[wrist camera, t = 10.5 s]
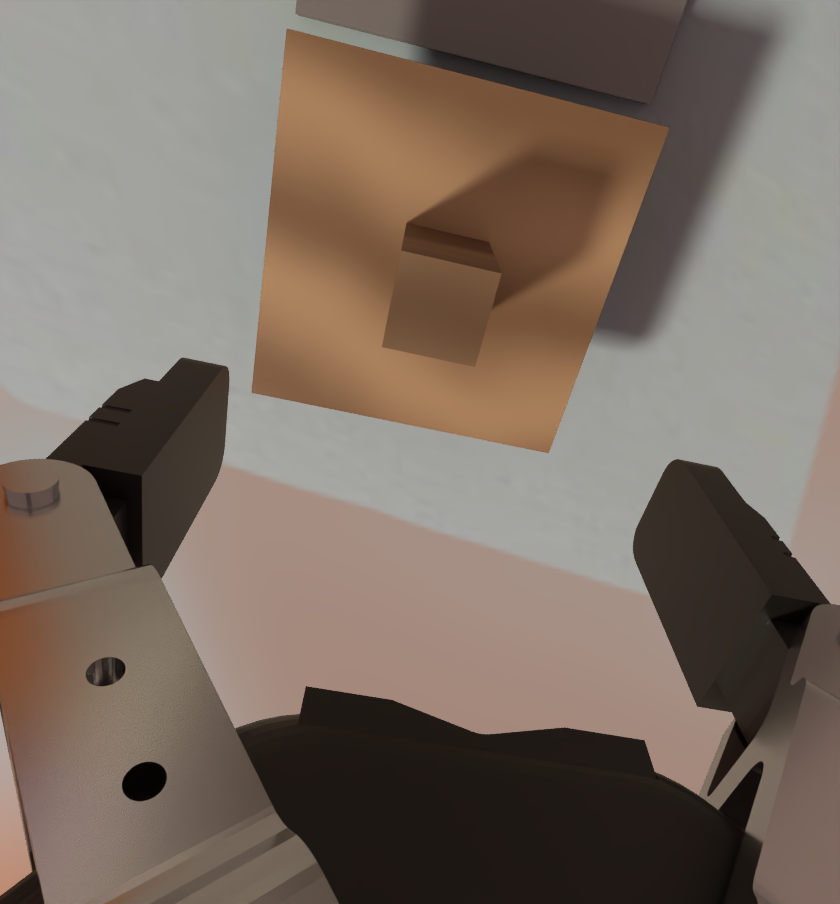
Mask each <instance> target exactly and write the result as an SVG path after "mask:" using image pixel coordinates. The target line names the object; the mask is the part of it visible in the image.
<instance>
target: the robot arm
mask: <svg viewBox="0 0 840 904" xmlns="http://www.w3.org/2000/svg"><path fill="white" fill-rule="evenodd" d="M228 392H229V371H228V368H227V367H226V366H222V365H217V364H212V363H207V362H202V361H197V360H192V359H187V358H181V359H180V360H178V362H177V363H176V364H175V365H174V366H173V367H172V368H171V369H170V370H169V371H168V372H167V373H166V374H165V376H164V377H163V378H162V379H161V380H160V381H154V380H149V379H143V380H140V381H138V382H135V383H133V384H130V385H128V386H125V387H123V388H120V389H118V390H117V391H116V392H115V393H114V394H113V395H112V396H111V397H110V398H109V399H108V400H107V401H105V402H104V403H103V404H102V408H100V407H99V408H98V409H97V410H96V411H95V412H94V413H93V414H92V415H91V416H90V417H89V421H85V422H84V423H83V424H82V425H80V426H79V427H78V428H77V429H76V430H75V431H74V432H73V433H72V434H71V435H70V436H69V437H68V438H67V439H66V440H65V441H64V442H63V443H62V444H61V445H60V446H59V447H58V448H57V449H56V450H54V451H53V452H52V453H51V455H49V456H48V457H47V458H46V459H30V460H21V461H15V462H10V463H6V464H2V465H0V712H1V716H2V721H3V726H4V732H5V737H6V742H7V747H8V752H9V757H10V762H11V767H12V772H13V777H14V782H15V787H16V792H17V797H18V802H19V808H20V813H21V818H22V824H23V829H24V834H25V840H26V845H27V850H28V855H29V860H30V865H31V870H32V872H31V873H30V874H29V875H27V876H26V877H25V878H23V879H22V880H21V881H19V882H18V883H17V884H16V885H14V886H13V887H12V888H11V889H9V890H8V891H6V892H5V893H4V894H2V895H1V896H0V904H840V606H839V605H834V604H830V603H829V601H828V600H827V599H826V598H825V596H824V595H823V594H822V592H821V591H820V590H819V588H818V587H817V586H816V584H815V583H814V582H813V580H812V579H811V578H810V576H809V575H808V574H807V573H806V571H805V570H804V569H803V567H802V566H801V565H800V563H799V562H798V561H797V560H796V558H793V557H791V555H792V553H791V552H790V550H789V549H788V548H787V547H786V545H785V544H784V543H783V541H779V538H780V537H779V536H778V535H777V534H776V532H775V531H774V530H773V528H772V527H771V526H770V524H769V523H768V522H767V520H766V519H765V518H764V517H763V516H762V515H760V514H759V513H758V512H757V511H755V510H754V509H753V508H752V507H750V506H749V505H748V504H747V503H745V501H744V500H743V499H742V497H741V496H740V495H739V493H738V492H737V491H736V489H735V488H734V487H733V485H732V484H731V483H730V481H729V480H728V479H727V477H726V476H725V475H724V473H723V472H722V471H721V470H720V469H719V468H717V467H713V466H708V465H703V464H698V463H694V462H689V461H684V460H679V459H677V460H674V461H672V462H671V463H670V464H669V465H668V466H667V467H666V469H665V471H664V472H663V475H662V477H661V479H660V481H659V483H658V485H657V487H656V489H655V491H654V493H653V495H652V497H651V499H650V501H649V503H648V505H647V507H646V509H645V511H644V514H643V516H642V518H641V520H640V522H639V524H638V526H637V528H636V532H635V536H634V541H633V553H634V558H635V561H636V564H637V566H638V568H639V571H640V573H641V575H642V578H643V580H644V583H645V585H646V587H647V590H648V592H649V594H650V597H651V599H652V601H653V604H654V606H655V608H656V611H657V613H658V615H659V618H660V620H661V622H662V625H663V627H664V629H665V632H666V634H667V637H668V639H669V641H670V643H671V646H672V648H673V651H674V653H675V655H676V657H677V660H678V662H679V665H680V667H681V669H682V672H683V674H684V676H685V679H686V681H687V683H688V686H689V688H690V691H691V693H692V695H693V697H694V700H695V702H696V705H697V707H704V708H709V709H716V710H722V711H728V712H732V713H733V715H734V720H733V721H732V723H731V724H730V725H729V727H728V728H727V729H726V731H725V733H724V734H723V737H722V739H721V741H720V744H719V746H718V749H717V751H716V754H715V756H714V759H713V761H712V764H711V766H710V769H709V771H708V774H707V776H706V779H705V781H704V784H703V786H702V788H701V791H700V794H699V796H698V795H697V794H695V793H694V792H692V791H690V790H689V789H687V788H686V787H684V786H682V785H681V784H679V783H677V782H675V781H673V780H671V779H669V778H667V777H665V776H663V775H661V774H658V773H656V772H654V768H653V765H652V762H651V759H650V756H649V753H648V750H647V747H646V744H645V741H644V740H638V739H632V738H626V737H620V736H614V735H607V734H601V733H595V732H589V731H582V730H576V729H570V728H555V729H544V730H533V731H522V732H511V733H501V734H489V735H488V734H487V735H485V734H478V733H475V732H471V731H469V730H466V729H464V728H461V727H458V726H456V725H454V724H451V723H449V722H446V721H444V720H441V719H438V718H436V717H433V716H430V715H428V714H426V713H423V712H421V711H418V710H416V709H413V708H411V707H408V706H406V705H403V704H401V703H398V702H395V701H393V700H388V699H382V698H376V697H369V696H363V695H357V694H351V693H344V692H338V691H332V690H326V689H319V688H312V687H307V686H306V689H305V694H304V698H303V703H302V708H301V712H300V714H297V715H286V716H279V717H274V718H268V719H263V720H259V721H256V722H253V723H250V724H247V725H244V726H241V727H238V728H236V729H235V728H234V726H233V724H232V722H231V720H230V718H229V716H228V714H227V712H226V710H225V708H224V706H223V704H222V702H221V700H220V698H219V695H218V693H217V691H216V689H215V687H214V685H213V683H212V681H211V679H210V677H209V675H208V673H207V671H206V669H205V667H204V665H203V663H202V661H201V659H200V657H199V655H198V653H197V651H196V649H195V647H194V645H193V643H192V641H191V638H190V636H189V634H188V633H187V630H186V628H185V626H184V624H183V622H182V620H181V618H180V616H179V614H178V612H177V610H176V608H175V606H174V604H173V602H172V600H171V598H170V596H169V594H168V592H167V590H166V588H165V586H164V584H163V582H162V580H161V578H162V577H163V575H164V573H165V571H166V570H167V568H168V566H169V564H170V562H171V561H172V559H173V557H174V555H175V553H176V551H177V550H178V548H179V546H180V544H181V542H182V540H183V539H184V537H185V535H186V533H187V532H188V530H189V528H190V526H191V524H192V523H193V521H194V519H195V517H196V515H197V514H198V512H199V510H200V508H201V506H202V504H203V503H204V501H205V499H206V497H207V495H208V494H209V492H210V490H211V488H212V486H213V484H214V483H215V481H216V479H217V476H218V474H219V471H220V468H221V464H222V460H223V455H224V448H225V435H226V420H227V406H228Z"/></svg>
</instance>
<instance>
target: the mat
mask: <svg viewBox="0 0 840 904" xmlns="http://www.w3.org/2000/svg"><path fill="white" fill-rule="evenodd" d="M686 3H687V0H297V4H296V14H297V15H300V16H304V17H307V18H311V19H315V20H319V21H323V22H327V23H331V24H335V25H339V26H343V27H346V28H350V29H354V30H358V31H362V32H366V33H370V34H374V35H378V36H382V37H386V38H389V39H393V40H397V41H401V42H405V43H409V44H413V45H417V46H421V47H425V48H429V49H432V50H436V51H440V52H444V53H448V54H452V55H456V56H460V57H464V58H468V59H471V60H475V61H479V62H483V63H487V64H491V65H495V66H499V67H503V68H507V69H511V70H514V71H518V72H522V73H526V74H530V75H534V76H538V77H542V78H546V79H550V80H553V81H557V82H561V83H565V84H569V85H573V86H577V87H581V88H585V89H589V90H593V91H596V92H600V93H604V94H608V95H612V96H616V97H620V98H624V99H628V100H632V101H636V102H639V103H643V104H650V105H651V103H652V100H653V98H654V95H655V92H656V89H657V86H658V83H659V80H660V78H661V75H662V72H663V69H664V66H665V63H666V60H667V58H668V55H669V52H670V49H671V46H672V43H673V40H674V37H675V35H676V32H677V29H678V26H679V23H680V20H681V17H682V15H683V12H684V9H685V6H686Z"/></svg>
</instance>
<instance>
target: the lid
mask: <svg viewBox="0 0 840 904" xmlns="http://www.w3.org/2000/svg"><path fill="white" fill-rule="evenodd" d="M668 131H669V127H665V126H661V125H657V124H654V123H650V122H646V121H642V120H638V119H634V118H630V117H627V116H623V115H619V114H615V113H611V112H607V111H603V110H600V109H596V108H592V107H588V106H584V105H580V104H576V103H572V102H569V101H565V100H561V99H557V98H553V97H549V96H545V95H542V94H538V93H534V92H530V91H526V90H522V89H518V88H515V87H511V86H507V85H503V84H499V83H495V82H491V81H488V80H484V79H480V78H476V77H472V76H468V75H464V74H461V73H457V72H453V71H449V70H445V69H441V68H437V67H433V66H430V65H426V64H422V63H418V62H414V61H410V60H406V59H403V58H399V57H395V56H391V55H387V54H383V53H379V52H376V51H372V50H368V49H364V48H360V47H356V46H352V45H349V44H345V43H341V42H337V41H333V40H329V39H325V38H321V37H318V36H314V35H310V34H306V33H302V32H298V31H294V30H291V29H287V31H286V41H285V51H284V62H283V72H282V83H281V93H280V103H279V114H278V124H277V134H276V145H275V155H274V166H273V176H272V186H271V197H270V207H269V218H268V228H267V238H266V249H265V259H264V269H263V280H262V290H261V301H260V311H259V321H258V332H257V342H256V353H255V363H254V373H253V384H252V393H256V394H261V395H266V396H271V397H275V398H280V399H285V400H290V401H295V402H300V403H305V404H310V405H315V406H320V407H325V408H329V409H334V410H339V411H344V412H349V413H354V414H359V415H364V416H369V417H374V418H379V419H383V420H388V421H393V422H398V423H403V424H408V425H413V426H418V427H423V428H428V429H433V430H438V431H442V432H447V433H452V434H457V435H462V436H467V437H472V438H477V439H482V440H487V441H492V442H496V443H501V444H506V445H511V446H516V447H521V448H526V449H531V450H536V451H541V452H546V453H549V451H550V448H551V445H552V443H553V440H554V437H555V435H556V432H557V429H558V427H559V424H560V421H561V419H562V416H563V413H564V411H565V408H566V405H567V402H568V400H569V397H570V394H571V392H572V389H573V386H574V384H575V381H576V378H577V376H578V373H579V370H580V368H581V365H582V362H583V360H584V357H585V354H586V351H587V349H588V346H589V343H590V341H591V338H592V335H593V333H594V330H595V327H596V325H597V322H598V319H599V317H600V314H601V311H602V308H603V306H604V303H605V300H606V298H607V295H608V292H609V290H610V287H611V284H612V282H613V279H614V276H615V274H616V271H617V268H618V265H619V263H620V260H621V257H622V255H623V252H624V249H625V247H626V244H627V241H628V239H629V236H630V233H631V231H632V228H633V225H634V223H635V220H636V217H637V214H638V212H639V209H640V206H641V204H642V201H643V198H644V196H645V193H646V190H647V188H648V185H649V182H650V180H651V177H652V174H653V171H654V169H655V166H656V163H657V161H658V158H659V155H660V153H661V150H662V147H663V145H664V142H665V139H666V137H667V134H668Z"/></svg>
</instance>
